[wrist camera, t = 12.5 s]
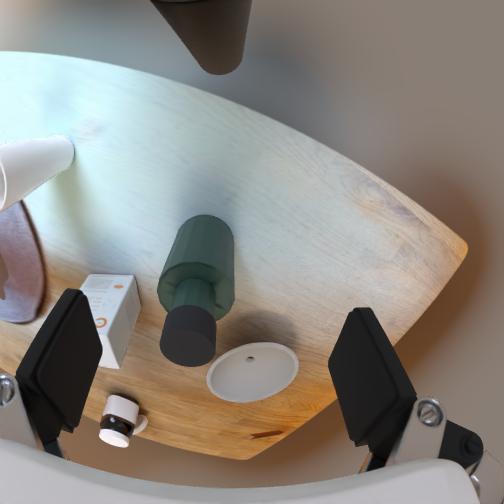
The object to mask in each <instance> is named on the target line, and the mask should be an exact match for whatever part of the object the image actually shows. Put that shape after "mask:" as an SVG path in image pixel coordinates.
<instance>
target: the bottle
mask: <svg viewBox="0 0 504 504" xmlns="http://www.w3.org/2000/svg"><path fill="white" fill-rule="evenodd" d="M157 293H158V297H159V300H160V303H161V305H162V306H163V307H164V308H165V310H166V311H167V312H168V313H169V312H170V311H171V310H172V309H173V308H175V307H178V306H181V305H194V306H198V307H201V308H203V309H205V310H207V311H208V312H209V313H210V314H211V315H212V316H213V317H214V319H215V321H217V320H220V319H221V318H222V317H224V316H225V315H226V314H227V313H228V312H229V311H230V309H231V307H232V305H233V302H234V300H235V293H234V240H233V235H232V232H231V230H230V228H229V227H228V226H227V224H226V223H225V222H223V221H222V220H221V219H219V218H217V217H214V216H210V215H199V216H195V217H193V218H191V219H189V220H187V221H186V222H185V223H184V224H183V225H182V227H181V228H180V229H179V231H178V234H177V236H176V239H175V241H174V243H173V246H172V248H171V251H170V253H169V256H168V258H167V261H166V263H165V266H164V268H163V271H162V273H161V276H160V279H159V283H158V288H157Z"/></svg>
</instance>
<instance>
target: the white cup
mask: <svg viewBox="0 0 504 504" xmlns="http://www.w3.org/2000/svg"><path fill="white" fill-rule="evenodd" d="M73 158H74V147H73V144H72V142H71V140H70V139H69V138H68V137H67V136H65V135H61V134H58V135H53V136H46V137H38V138H29V139H21V140H15V141H9V142H5V143H2V144H0V213H1V212H2V211H4V210H6V209H8V208H10V207H11V206H13V205H15V204H16V203H18V202H19V201H21V200H22V199H23V198H25V197H26V196H28V195H29V194H30V193H32V192H33V191H34V190H36V189H37V188H38V187H40V186H41V185H43V184H44V183H46V182H47V181H48V180H50V179H51V178H53V177H55V176H56V175H58V174H60V173H62V172H64V171H65V170H67V169H68V168H69V167H70V165H71V163H72V161H73Z"/></svg>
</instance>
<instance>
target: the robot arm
mask: <svg viewBox="0 0 504 504" xmlns="http://www.w3.org/2000/svg"><path fill="white" fill-rule="evenodd" d="M102 353H103V347H102V343H101V340H100V337H99V334H98V331H97V328H96V325H95V322H94V319H93V315H92V312H91V308H90V305H89V301H88V298H87V296H86V295H84V293H83V291H82V290H77V289H70V288H68V289H66V290H65V291H64V293H63V294H62V296H61V297H60V299H59V300H58V302H57V303H56V305H55V306H54V308H53V309H52V311H51V312H50V314H49V315H48V317H47V318H46V320H45V322H44V323H43V325H42V326H41V328H40V330H39V331H38V333H37V335H36V336H35V338H34V340H33V342H32V343H31V345H30V347H29V349H28V350H27V352H26V354H25V356H24V358H23V359H22V361H21V363H20V365H19V367H18V369H17V371H16V376H15V378H14V377H13V376H11V375H10V374H5V373H4V374H0V504H503V502H504V465H503V464H501V463H500V462H499V461H498V460H497V459H496V458H495V457H494V456H493V455H492V454H490V453H489V452H488V451H487V450H485V451H484V452H483V443H482V440H481V438H480V437H479V436H478V435H477V434H476V433H474V432H472V431H470V430H468V429H465V428H463V427H461V426H459V425H457V424H455V423H453V422H451V421H449V420H447V413H446V410H445V408H444V406H443V404H442V403H441V402H440V401H439V400H437V399H435V398H433V397H430V396H426V397H425V396H424V397H421V398H419V399H417V397H416V395H417V394H416V392H415V390H414V388H413V386H412V384H411V381H410V380H409V377H408V376H407V373H406V372H405V369H404V368H403V366H402V364H401V362H400V360H399V358H398V356H397V354H396V352H395V350H394V348H393V347H392V345H391V343H390V341H389V339H388V337H387V335H386V334H385V332H384V330H383V328H382V326H381V325H380V323H379V321H378V319H377V318H376V316H375V314H374V312H373V311H372V309H371V308H369V307H361V308H354V309H353V311H352V312H349V314H348V316H347V319H346V321H345V323H344V326H343V328H342V331H341V333H340V335H339V338H338V340H337V342H336V344H335V347H334V349H333V351H332V353H331V356H330V358H329V361H328V368H329V371H330V374H331V378H332V381H333V384H334V387H335V390H336V394H337V397H338V400H339V404H340V407H341V410H342V414H343V417H344V420H345V424H346V427H347V431H348V434H349V438H350V439H351V440H352V441H354V442H355V446H356V447H358V446H363V445H367V444H368V447H369V450H370V452H369V453H368V455H367V458H366V459H365V461H364V463H363V465H362V467H361V469H360V471H359V473H358V474H356V475H351V476H347V477H341V478H336V479H331V480H326V481H320V482H314V483H306V484H299V485H290V486H279V487H264V488H207V487H193V486H182V485H172V484H165V483H158V482H152V481H146V480H140V479H135V478H130V477H125V476H121V475H116V474H113V473H109V472H105V471H101V470H98V469H94V468H91V467H87V466H84V465H81V464H78V463H74V462H71V461H70V459H69V457H68V455H67V453H66V451H65V448H64V446H63V444H62V442H61V439H60V437H59V435H60V431H61V430H64V431H67V432H70V433H73V430H74V427H77V426H78V425H79V422H80V419H81V415H82V412H83V409H84V406H85V402H86V399H87V396H88V393H89V390H90V387H91V384H92V382H93V379H94V376H95V373H96V370H97V368H98V365H99V362H100V359H101V357H102Z"/></svg>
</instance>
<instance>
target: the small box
mask: <svg viewBox="0 0 504 504" xmlns="http://www.w3.org/2000/svg"><path fill="white" fill-rule="evenodd" d="M79 290H82V291H83V293H84V295H86V296H87V298H88V301H89V305H90V308H91V312H92V315H93V319H94V322H95V325H96V328H97V331H98V334H99V337H100V340H101V343H102V347H103V353H102V357H101V359H100V362H99V365H98V366H101V367H107V368H115V369H120V368H121V365H122V362H123V359H124V356H125V353H126V350H127V347H128V344H129V341H130V338H131V335H132V332H133V329H134V327H135V324H136V321H137V318H138V315H139V313H140V310H141V304H140V299H139V295H138V290H137V285H136V281H135V276H134V275H111V274H90V275H89V276H88V277H87V279H86V280H85V282H84V283H83V285H82V286H81V288H80V289H79Z"/></svg>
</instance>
